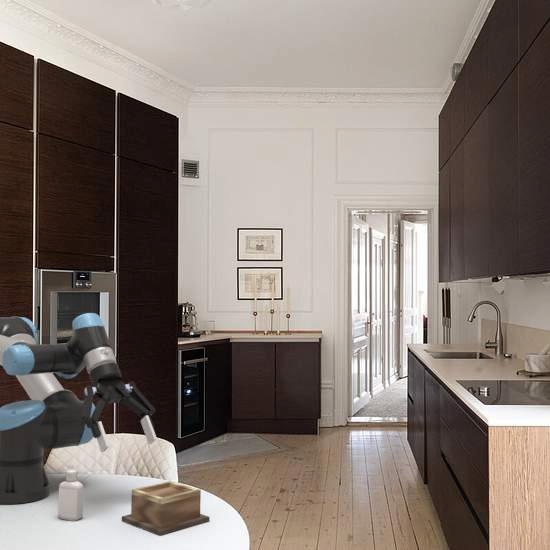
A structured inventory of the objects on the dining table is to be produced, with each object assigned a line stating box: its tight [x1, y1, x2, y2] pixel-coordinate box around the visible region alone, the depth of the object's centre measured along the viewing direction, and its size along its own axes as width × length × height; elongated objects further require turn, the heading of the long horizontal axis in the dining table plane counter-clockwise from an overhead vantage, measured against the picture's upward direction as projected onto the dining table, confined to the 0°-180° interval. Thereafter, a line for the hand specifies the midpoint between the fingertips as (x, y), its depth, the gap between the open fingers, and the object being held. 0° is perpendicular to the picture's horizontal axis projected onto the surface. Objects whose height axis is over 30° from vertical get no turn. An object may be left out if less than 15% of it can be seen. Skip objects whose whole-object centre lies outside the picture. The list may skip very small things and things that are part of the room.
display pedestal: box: [121, 480, 210, 537], centre depth 157 cm, size 14×14×7 cm
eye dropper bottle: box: [57, 464, 84, 521], centre depth 159 cm, size 4×6×12 cm
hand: (129, 445), depth 166 cm, fingers open, 13 cm apart
